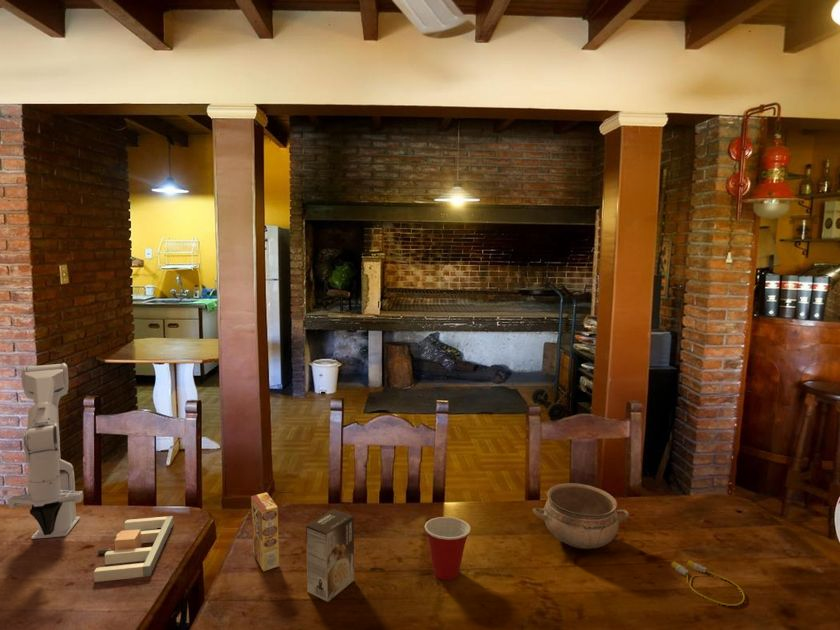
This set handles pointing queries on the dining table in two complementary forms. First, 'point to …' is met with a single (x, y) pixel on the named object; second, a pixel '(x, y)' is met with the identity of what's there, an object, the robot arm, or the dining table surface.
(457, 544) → the plastic cup
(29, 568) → the dining table surface
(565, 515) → the cooking pot
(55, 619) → the dining table surface
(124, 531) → the tan handled block
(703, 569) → the yellow looped cord
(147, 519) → the cord comb
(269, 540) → the candy box
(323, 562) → the coffee box
